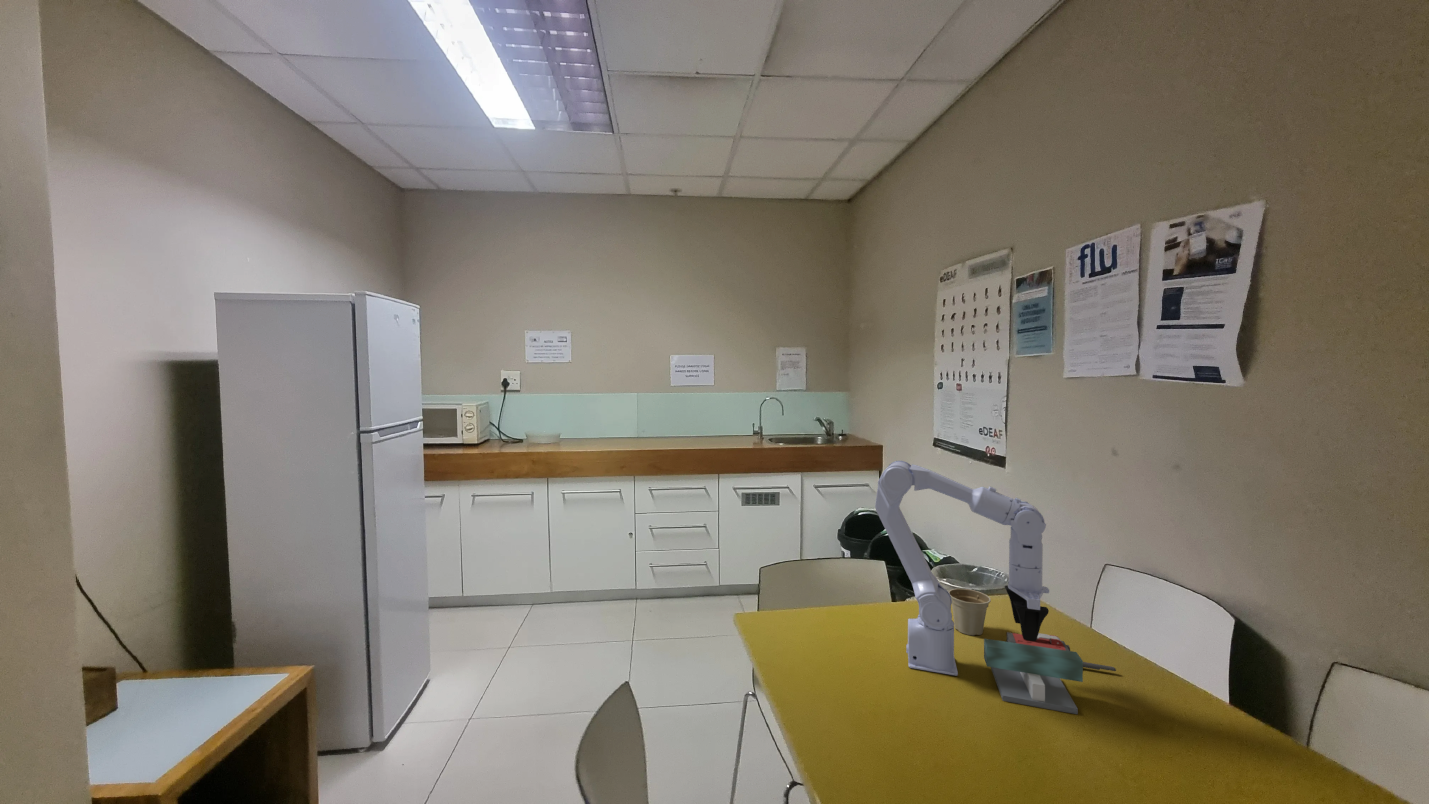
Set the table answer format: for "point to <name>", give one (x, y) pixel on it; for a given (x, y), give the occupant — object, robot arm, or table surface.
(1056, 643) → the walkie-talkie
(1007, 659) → the teal bar
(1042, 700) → the stand
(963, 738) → the table surface
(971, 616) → the flower pot
